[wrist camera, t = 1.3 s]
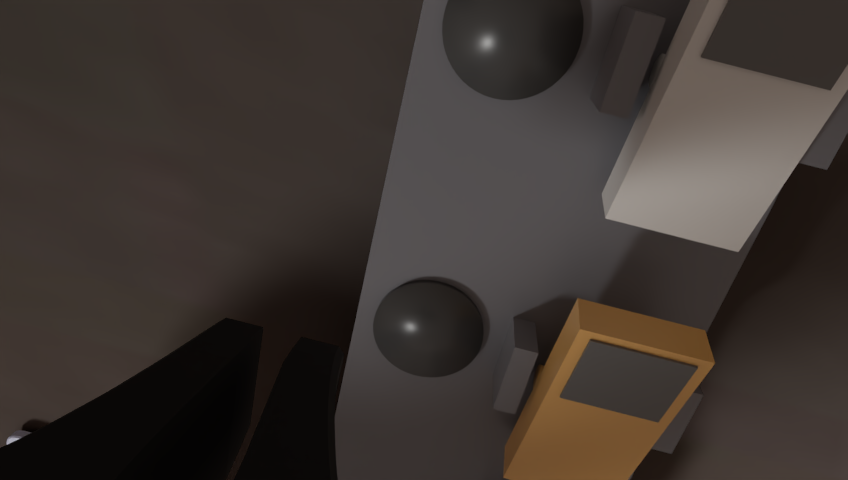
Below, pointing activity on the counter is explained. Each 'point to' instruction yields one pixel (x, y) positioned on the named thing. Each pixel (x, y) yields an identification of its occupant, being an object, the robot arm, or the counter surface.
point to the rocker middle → (605, 395)
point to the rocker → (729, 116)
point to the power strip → (511, 229)
